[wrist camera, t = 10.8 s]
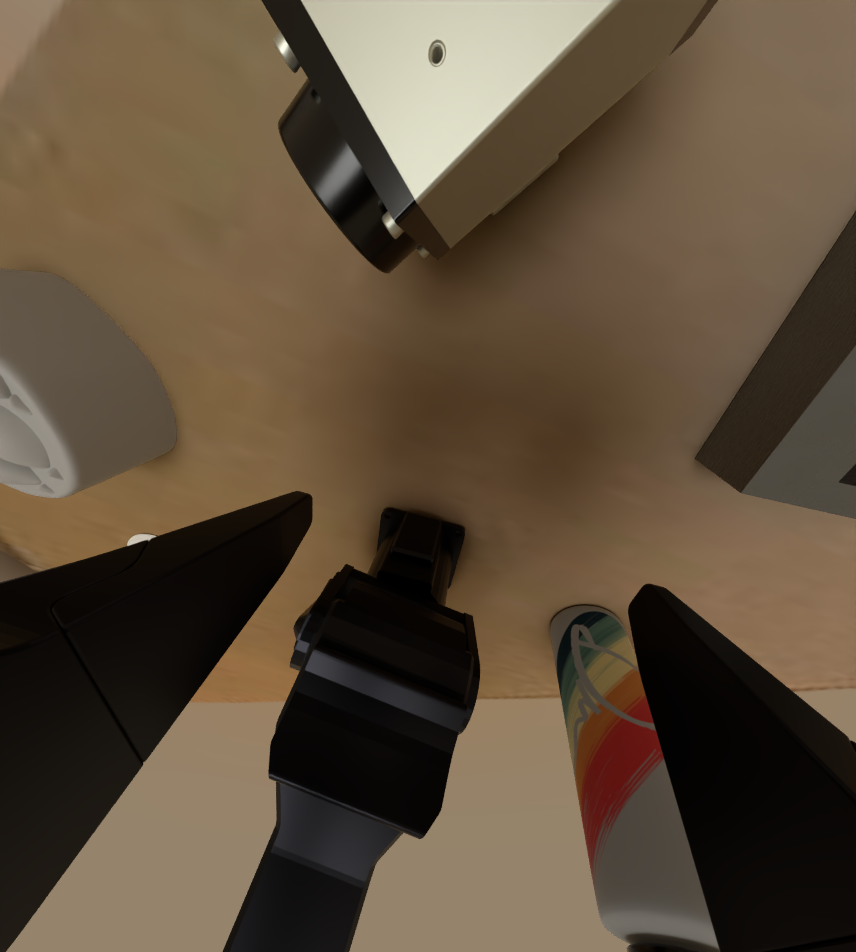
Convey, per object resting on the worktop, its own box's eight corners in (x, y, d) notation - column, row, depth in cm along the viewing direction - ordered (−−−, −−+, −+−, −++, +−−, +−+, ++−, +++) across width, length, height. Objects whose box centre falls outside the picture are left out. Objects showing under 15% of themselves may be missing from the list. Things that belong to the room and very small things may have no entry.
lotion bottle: (601, 594, 25) (859, 1281, 7) (635, 637, 26) (919, 1297, 9) (535, 617, 27) (610, 1173, 10) (570, 656, 28) (691, 1201, 11)
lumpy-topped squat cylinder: (43, 247, 20) (-228, 211, 13) (204, 414, 24) (70, 464, 16) (3, 349, 24) (-217, 368, 17) (145, 478, 28) (17, 541, 20)
